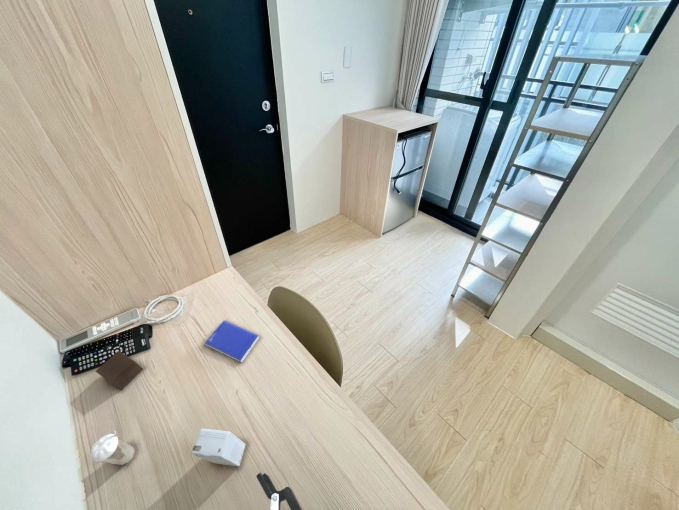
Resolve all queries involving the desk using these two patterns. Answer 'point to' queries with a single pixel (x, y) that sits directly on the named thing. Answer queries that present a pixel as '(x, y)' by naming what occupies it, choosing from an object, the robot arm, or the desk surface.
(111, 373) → the walnut cube
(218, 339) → the hard drive
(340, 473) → the desk surface
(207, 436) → the cosmetic box
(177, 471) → the desk surface
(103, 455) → the milkshake
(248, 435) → the desk surface
